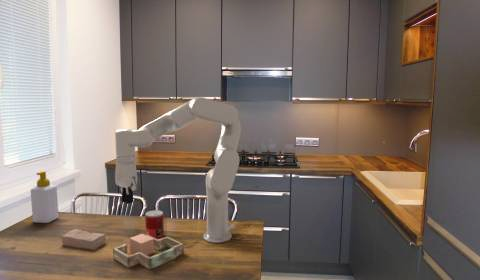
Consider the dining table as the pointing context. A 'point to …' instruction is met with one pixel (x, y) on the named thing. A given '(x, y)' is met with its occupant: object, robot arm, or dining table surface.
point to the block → (142, 244)
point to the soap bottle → (44, 200)
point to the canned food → (154, 224)
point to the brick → (83, 239)
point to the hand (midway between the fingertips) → (127, 201)
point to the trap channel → (165, 244)
